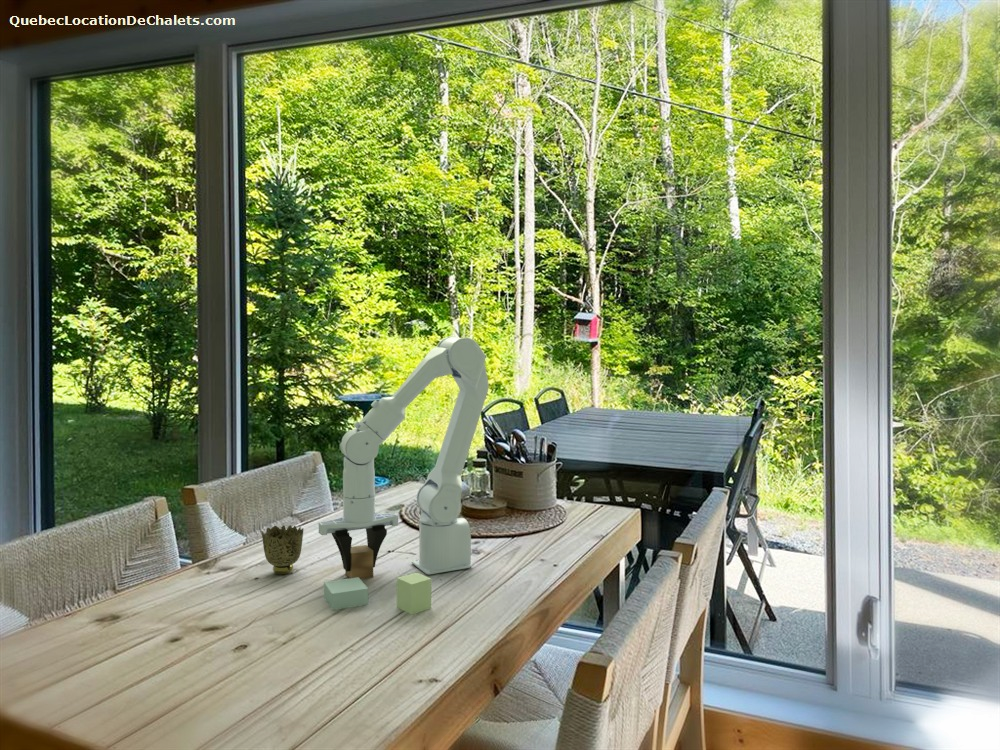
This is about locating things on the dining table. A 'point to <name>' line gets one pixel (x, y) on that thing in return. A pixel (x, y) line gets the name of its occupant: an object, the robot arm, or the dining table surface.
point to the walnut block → (361, 562)
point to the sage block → (413, 593)
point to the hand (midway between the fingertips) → (359, 567)
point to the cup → (282, 547)
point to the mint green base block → (345, 593)
